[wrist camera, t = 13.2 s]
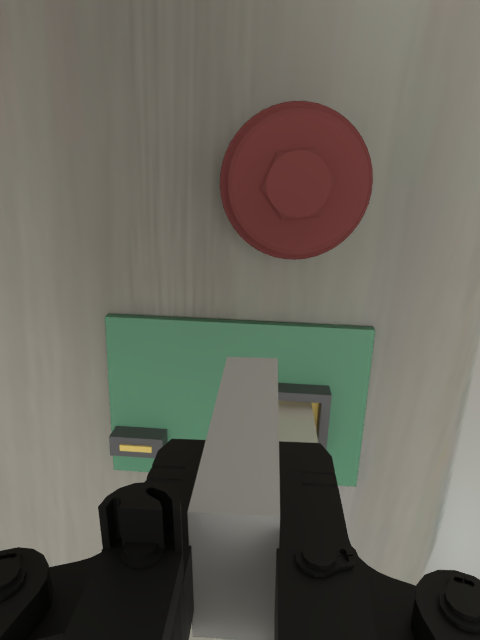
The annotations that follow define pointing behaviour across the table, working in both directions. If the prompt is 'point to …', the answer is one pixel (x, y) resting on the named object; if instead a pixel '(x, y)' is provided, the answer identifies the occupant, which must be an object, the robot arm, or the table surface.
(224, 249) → the table surface
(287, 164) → the mechanical component
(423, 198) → the table surface
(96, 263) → the table surface
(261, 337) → the board
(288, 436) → the plug
